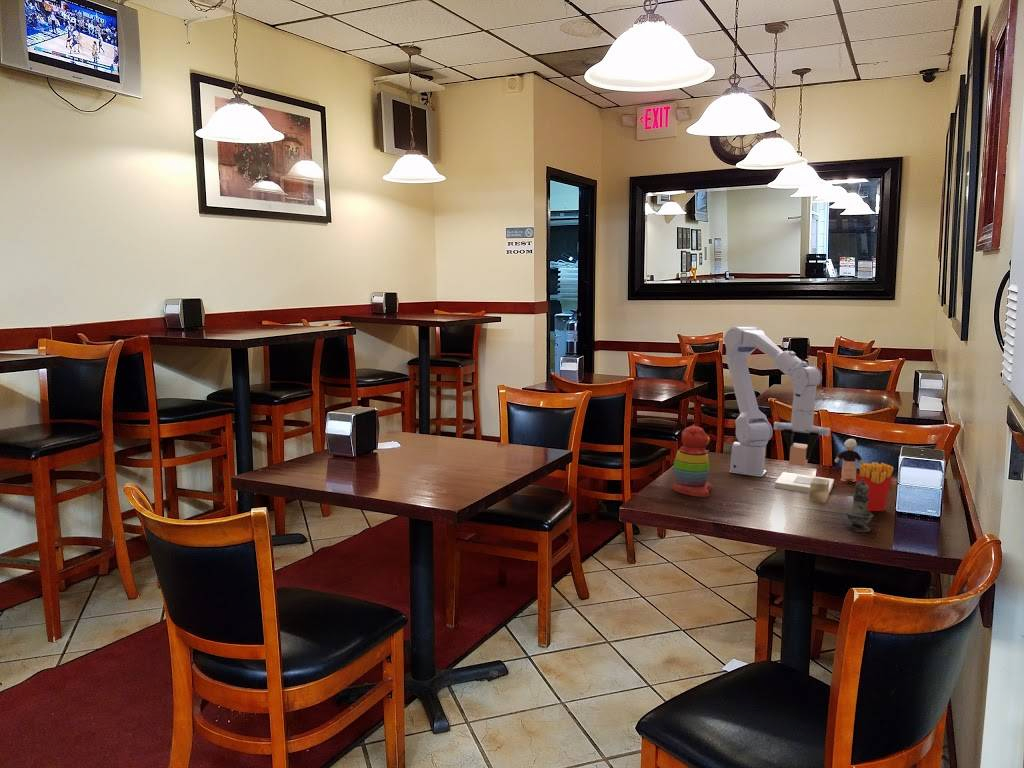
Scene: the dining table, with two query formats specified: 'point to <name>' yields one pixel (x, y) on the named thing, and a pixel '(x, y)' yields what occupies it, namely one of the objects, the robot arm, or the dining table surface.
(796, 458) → the terracotta brick
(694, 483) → the stacking bear
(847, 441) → the grandmother figurine
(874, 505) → the french fries
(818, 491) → the birch brick
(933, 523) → the dining table surface
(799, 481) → the tower plate
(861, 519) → the grey stone statuette
